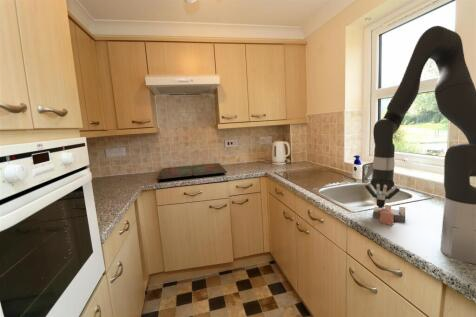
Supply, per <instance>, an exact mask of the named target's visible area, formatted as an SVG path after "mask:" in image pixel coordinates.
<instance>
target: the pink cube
mask: <svg viewBox="0 0 476 317" xmlns="http://www.w3.org/2000/svg"><path fill="white" fill-rule="evenodd" d="M394 210H395V209H394ZM394 210H388V209H381V211H380V218H379V223H380V224H387V225H391V226H392V225H393V226H394V220H393V219H394Z"/></svg>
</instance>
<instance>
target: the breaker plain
mask: <svg viewBox="0 0 476 317" xmlns="http://www.w3.org/2000/svg"><path fill="white" fill-rule="evenodd" d="M398 210H399V212H400V213H405V214H406V205H402V204H399V207H398Z"/></svg>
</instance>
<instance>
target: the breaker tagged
mask: <svg viewBox="0 0 476 317" xmlns="http://www.w3.org/2000/svg"><path fill="white" fill-rule="evenodd" d="M384 208H385V209H388V210H391V209H392V203H388V202H385V206H384Z"/></svg>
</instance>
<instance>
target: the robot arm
mask: <svg viewBox="0 0 476 317" xmlns="http://www.w3.org/2000/svg"><path fill="white" fill-rule="evenodd" d="M463 46H464V44H463V40H462V37H461V36H460V34H459V33H457V32H456V31H453V30H452V29H449V28H446V27H444V26H441V25H434V26H432V27H430V28H428V29H426V30H425V31H424V32H423V33H422V34H421V36H420V37H419V38H418V40H417V42H416V44H415V46H414V49H413V51H412V54H411V56H410V58H409V61H408V63H407V66H406V69H405V71H404V74H403V76H402V78H401V81H400V83H399V85H398V87H397V89H396V91H395V92H394V94H393V96H392V97H391V99H390V101H389V103H388V105H387V107H386V113H385V114H384V116H383V118H381V119H378V120H377V121H376V122H375V124H374V126H373V131H372V132H373V143H374V150H373V151H374V153H373V154H374V155H373V159H372V160H373V161H372V171H371V172H372V174H371V180H370V182H368V183H366V184H365V185H364V187H365V189H366V190H367V191H368V193H369V194H370V195H371V197H373V198H375V199H376V207H378V208H385V204H386V200H391V198H393V197H394V196H395V195H396V194H398V193H399V192H401V189H400V187H399V186H396V185H395V182H394V174H395V173H394V172H395V152H396V150H395V149H396V147H395V144H394V134H396V133H397V131H398V130H399V128H400V126H401V125H402V123H403V121H404V118H405V116H406V114H407V113H408V111H409V110H410V108H411V107H412V105H413V104H414V102H415V101H416V98H417V97H418V94H419V91H420V85H421V84H420V83H421V79H422V78H421V77H422V74H423V70H424V68H425V66H426V64H427V62H428V61H429V59H430V60H432V61H434V63H435V65H436V67H437V70H438V79H437V82H436V83H435V87H434V97H435V101H436V102H435V103H436V105H437V108H438V110H439V112H440V114H441V115H442V116H443V117H444V118H446V120H448V121H449V122H450V123H451V124H453V125H454V126H455V127H456V128H458V129H459V130H460V131H461V132H462V133H463V135H464V136H465V138H466V140H467V142H468V143H459V144H456V143H455V144H452V145H450V146H449V147H448V148H447V150H446V152H445V155H444V160H443V164H444V165H443V166H444V168H443V169H444V170H443V171H444V172H443V173H444V174H443V187H444V193H445V195H444V201H443V202H444V203H443V204H444V205H443V215H442V226H441V234H440V236H441V237H440V251H441V253H443V254H444V255H445V256H447V257H448V258H449V259H450V260H454V261H455V260H456V261H460V262H464V263H469V264H473V265H476V186H473V185H471V181H470V180H471V179H470V178H471V177H473V178H475V177H476V86H475V84H474V82H473V79H472V76H471V73H470V71H469V66H468V65H467V63H466V60H465V53H464V47H463ZM373 188H374V190H375V191H376V192H375V191H374V190H373ZM391 189H392V190H391ZM390 190H391V192H390V193H388V194H387V192H389V191H390Z"/></svg>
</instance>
